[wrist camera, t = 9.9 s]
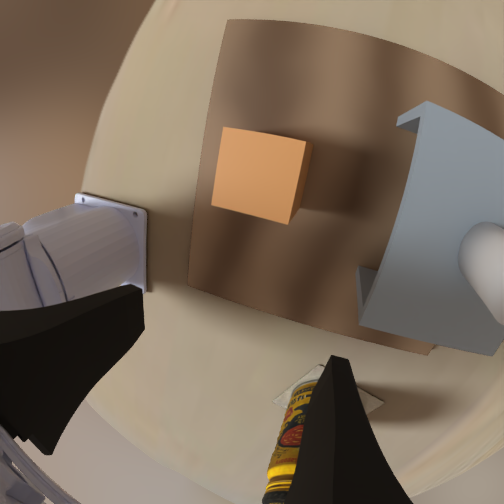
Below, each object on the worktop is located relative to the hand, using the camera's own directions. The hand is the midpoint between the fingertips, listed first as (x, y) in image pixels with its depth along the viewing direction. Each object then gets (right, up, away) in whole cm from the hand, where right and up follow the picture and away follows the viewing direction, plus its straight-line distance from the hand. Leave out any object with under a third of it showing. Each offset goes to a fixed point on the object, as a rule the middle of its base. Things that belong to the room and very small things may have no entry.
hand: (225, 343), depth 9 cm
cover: (+13, +5, +4) cm, 14 cm away
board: (+7, +7, +6) cm, 12 cm away
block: (+2, +8, +7) cm, 11 cm away
